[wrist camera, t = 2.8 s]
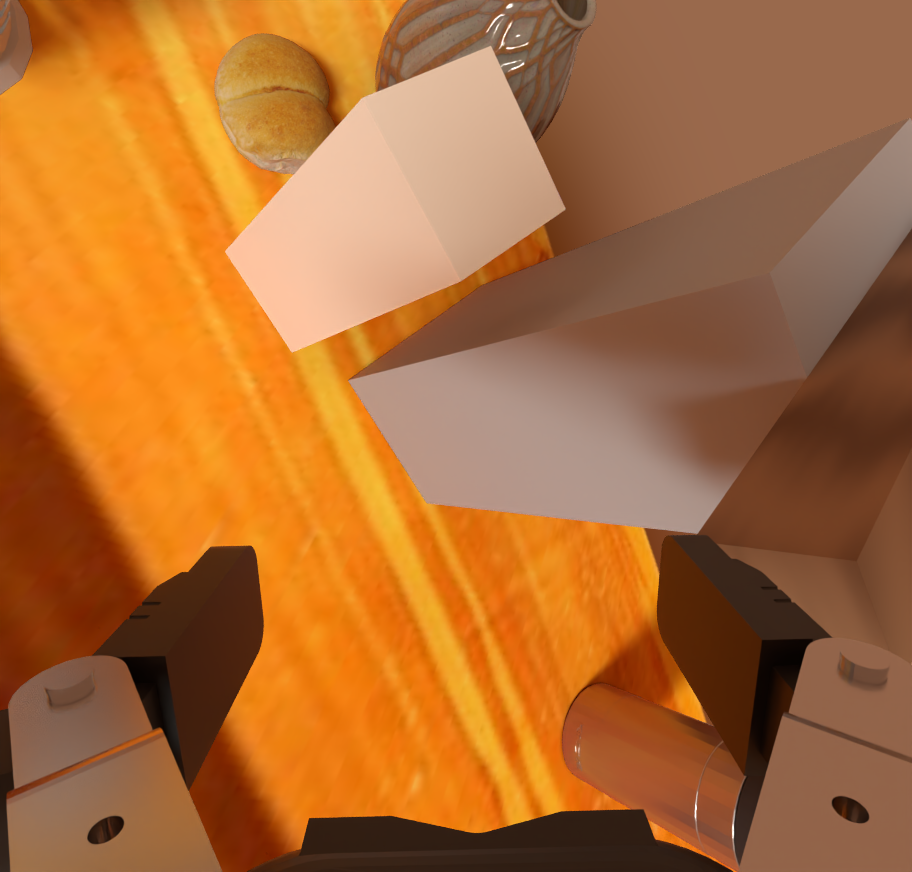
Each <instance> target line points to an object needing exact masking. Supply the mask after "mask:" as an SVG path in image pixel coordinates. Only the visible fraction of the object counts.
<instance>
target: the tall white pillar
mask: <svg viewBox="0 0 912 872" xmlns="http://www.w3.org/2000/svg"><path fill="white" fill-rule="evenodd" d="M911 229H912V121H911V118H908V119H906V120H903V121H901V122H898V123H895V124H893V125H890V126H888V127H885V128H883V129H880V130H878V131H875V132H872V133H870V134H867V135H865V136H863V137H860V138H857V139H855V140H852V141H850V142H847V143H844V144H842V145H839V146H837V147H834V148H832V149H829V150H827V151H824V152H822V153H819V154H816V155H814V156H811V157H809V158H806V159H804V160H801V161H799V162H796V163H794V164H791V165H788V166H786V167H783V168H781V169H778V170H776V171H773V172H770V173H768V174H765V175H763V176H760V177H758V178H755V179H753V180H750V181H747V182H745V183H742V184H740V185H737V186H735V187H732V188H730V189H727V190H725V191H722V192H719V193H717V194H715V195H712V196H709V197H707V198H704V199H702V200H699V201H696V202H694V203H691V204H689V205H686V206H684V207H681V208H679V209H676V210H674V211H671V212H669V213H666V214H663V215H661V216H659V217H656V218H653V219H651V220H648V221H645V222H643V223H641V224H638V225H635V226H633V227H630V228H628V229H625V230H623V231H620V232H618V233H615V234H613V235H610V236H607V237H605V238H602V239H600V240H597V241H594V242H592V243H589V244H587V245H584V246H582V247H579V248H577V249H574V250H571V251H569V252H566V253H564V254H562V255H559V256H556V257H554V258H551V259H549V260H546V261H543V262H541V263H538V264H536V265H533V266H531V267H528V268H526V269H523V270H520V271H518V272H515V273H513V274H510V275H508V276H505V277H503V278H500V279H497V280H495V281H492V282H490V283H487V284H485V285H482V286H480V287H479V288H478V289H476V290H475V291H473V292H472V293H471V294H469V295H468V296H466V297H465V298H464V299H462V300H461V301H459V302H458V303H456V304H455V305H454V306H452V307H451V308H449V309H448V310H447V311H445V312H444V313H442V314H441V315H440V316H438V317H437V318H435V319H434V320H433V321H431V322H430V323H428V324H427V325H425V326H424V327H423V328H421V329H420V330H418V331H417V332H416V333H414V334H413V335H411V336H410V337H409V338H407V339H406V340H404V341H403V342H402V343H400V344H399V345H397V346H396V347H394V348H393V349H392V350H390V351H389V352H387V353H386V354H385V355H383V356H382V357H380V358H379V359H378V360H376V361H375V362H373V363H372V364H371V365H369V366H368V367H366V368H365V369H363V370H362V371H361V372H359V373H358V374H356V375H355V376H354V377H352V378H351V379H349V380H348V381H349V383H350V384H351V386H352V387H353V389H354V390H355V392H356V393H357V395H358V397H359V398H360V400H361V401H362V403H363V404H364V406H365V408H366V409H367V411H368V412H369V414H370V415H371V417H372V418H373V420H374V422H375V423H376V425H377V426H378V428H379V429H380V431H381V432H382V434H383V436H384V437H385V439H386V440H387V442H388V443H389V445H390V447H391V448H392V450H393V451H394V453H395V454H396V456H397V457H398V459H399V461H400V462H401V464H402V465H403V467H404V468H405V470H406V472H407V473H408V475H409V476H410V478H411V479H412V481H413V482H414V484H415V486H416V487H417V489H418V490H419V492H420V493H421V495H422V496H423V498H424V500H425V501H426V503H430V504H439V505H448V506H457V507H466V508H475V509H484V510H492V511H501V512H510V513H519V514H528V515H537V516H546V517H555V518H563V519H572V520H581V521H590V522H599V523H608V524H617V525H626V526H635V527H643V528H652V529H661V530H670V531H679V532H688V533H697V534H698V532H699V531H700V530H701V528H702V527H703V525H704V524H705V522H706V521H707V520H708V518H709V517H710V515H711V514H712V512H713V511H714V510H715V508H716V507H717V505H718V504H719V502H720V501H721V500H722V498H723V497H724V495H725V494H726V492H727V491H728V490H729V488H730V487H731V485H732V484H733V483H734V481H735V480H736V478H737V477H738V475H739V474H740V473H741V471H742V470H743V468H744V467H745V465H746V464H747V463H748V461H749V460H750V458H751V457H752V455H753V454H754V453H755V451H756V450H757V448H758V447H759V445H760V444H761V443H762V441H763V440H764V438H765V437H766V435H767V434H768V433H769V431H770V430H771V428H772V427H773V426H774V424H775V423H776V421H777V420H778V418H779V417H780V416H781V414H782V413H783V411H784V410H785V408H786V407H787V406H788V404H789V403H790V401H791V400H792V398H793V397H794V396H795V394H796V393H797V391H798V390H799V388H800V387H801V386H802V384H803V383H804V381H805V380H806V378H807V377H808V376H809V374H810V373H811V371H812V370H813V369H814V367H815V366H816V364H817V363H818V361H819V360H820V359H821V357H822V356H823V354H824V353H825V351H826V350H827V349H828V347H829V346H830V344H831V343H832V341H833V340H834V339H835V337H836V336H837V334H838V333H839V331H840V330H841V329H842V327H843V326H844V324H845V323H846V321H847V320H848V319H849V317H850V316H851V314H852V313H853V312H854V310H855V309H856V307H857V306H858V304H859V303H860V302H861V300H862V299H863V297H864V296H865V294H866V293H867V292H868V290H869V289H870V287H871V286H872V284H873V283H874V282H875V280H876V279H877V277H878V276H879V274H880V273H881V272H882V270H883V269H884V267H885V266H886V264H887V263H888V262H889V260H890V259H891V257H892V256H893V255H894V253H895V252H896V250H897V249H898V247H899V246H900V245H901V243H902V242H903V240H904V239H905V237H906V236H907V235H908V233H909V232H910V230H911Z"/></svg>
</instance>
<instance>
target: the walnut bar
mask: <svg viewBox="0 0 912 872" xmlns="http://www.w3.org/2000/svg"><path fill="white" fill-rule="evenodd" d="M697 535H707V536H709V537H710V538H711V539H712V540H713V541H714V542H715V543H716V544H717V545H718V546H719V547H720V548H721V549H722V550H723V551H724V552H725V553H726V554H727V555H728V556H729V557H730V558H731V559H738V560H740V561H742V562H744V563H746V564H748V565H750V566H752V567H754V568H756V569H758V570H760V571H761V572H763V573H764V574H765V575H766V576H767V577H768V578H769V579H770V580H771V581H772V582H773V583H774V584H775V585H777V586H778V590H780V589H781V590H782V591H783V592H784V593H785V594H786V595H787V596H788V597H789V598H791V602H795V603H796V604H797V605H798V606H799V607H800V608H801V609H802V610H803V611H805V612H806V613H807V614H808V615H809V616H810V617H811V618H812V619H813V620H814V621H815V622H816V623H817V624H819V625H820V626H821V627H822V628H823V629H824V630H825V631H826V632H827V633H828V634H829V635H830V636H831V637H833V638H845V639H852V640H857V641H861V642H865V643H868V644H872V645H875V646H877V647H880V648H882V649H885V650H887V651H889V652H891V653H893V654H895V655H897V656H899V657H901V658H902V659H904V660H905V661H907V662H908V663H910V664H911V662H912V229H911V230H910V232H909V233H908V235H907V236H906V237H905V239H904V240H903V242H902V243H901V245H900V246H899V247H898V249H897V250H896V252H895V253H894V255H893V256H892V257H891V259H890V260H889V262H888V263H887V264H886V266H885V267H884V269H883V270H882V272H881V273H880V274H879V276H878V277H877V279H876V280H875V282H874V283H873V284H872V286H871V287H870V289H869V290H868V292H867V293H866V294H865V296H864V297H863V299H862V300H861V302H860V303H859V304H858V306H857V307H856V309H855V310H854V312H853V313H852V314H851V316H850V317H849V319H848V320H847V321H846V323H845V324H844V326H843V327H842V329H841V330H840V331H839V333H838V334H837V336H836V337H835V339H834V340H833V341H832V343H831V344H830V346H829V347H828V349H827V350H826V351H825V353H824V354H823V356H822V357H821V359H820V360H819V361H818V363H817V364H816V366H815V367H814V369H813V370H812V371H811V373H810V374H809V376H808V377H807V378H806V380H805V381H804V383H803V384H802V386H801V387H800V388H799V390H798V391H797V393H796V394H795V396H794V397H793V398H792V400H791V401H790V403H789V404H788V406H787V407H786V408H785V410H784V411H783V413H782V414H781V416H780V417H779V418H778V420H777V421H776V423H775V424H774V426H773V427H772V428H771V430H770V431H769V433H768V434H767V435H766V437H765V438H764V440H763V441H762V443H761V444H760V445H759V447H758V448H757V450H756V451H755V453H754V454H753V455H752V457H751V458H750V460H749V461H748V463H747V464H746V465H745V467H744V468H743V470H742V471H741V473H740V474H739V475H738V477H737V478H736V480H735V481H734V483H733V484H732V485H731V487H730V488H729V490H728V491H727V492H726V494H725V495H724V497H723V498H722V500H721V501H720V502H719V504H718V505H717V507H716V508H715V510H714V511H713V512H712V514H711V515H710V517H709V518H708V520H707V521H706V522H705V524H704V525H703V527H702V528H701V530H700V531H699V532H698V534H697Z"/></svg>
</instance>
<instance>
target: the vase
mask: <svg viewBox="0 0 912 872" xmlns="http://www.w3.org/2000/svg"><path fill="white" fill-rule="evenodd" d="M595 14H596V0H406V1H405V2H404V3H403V5H402V6H401V7H400V9H399V10H398V12H397V13H396V15H395V16H394V18H393V19H392V21H391V23H390V25H389V27H388V29H387V31H386V33H385V35H384V38H383V41H382V44H381V48H380V51H379V55H378V60H377V67H376V76H375V85H376V92H378V91H381V90H383V89H386V88H388V87H390V86H393V85H395V84H398V83H400V82H403V81H405V80H408V79H410V78H413V77H415V76H418V75H420V74H423V73H425V72H427V71H430V70H432V69H435V68H437V67H440V66H442V65H445V64H447V63H450V62H452V61H455V60H457V59H459V58H462V57H464V56H467V55H469V54H472V53H474V52H477V51H479V50H482V49H484V48H487V47H489V46H491V47H492V49H493V51H494V53H495V56H496V58H497V60H498V62H499V64H500V67H501V69H502V71H503V73H504V75H505V77H506V80H507V82H508V84H509V86H510V88H511V91H512V93H513V95H514V97H515V99H516V102H517V104H518V106H519V108H520V110H521V112H522V115H523V117H524V119H525V121H526V123H527V126H528V128H529V130H530V132H531V134H532V136H533V139H534V141H535V143H536V142H537V141H538V140H539V139H540V138H541V136H542V135H543V134H544V132H545V131H546V129H547V128H548V126H549V125H550V123H551V122H552V120H553V118H554V116H555V115H556V113H557V111H558V109H559V107H560V105H561V103H562V100H563V98H564V95H565V92H566V90H567V87H568V84H569V80H570V76H571V72H572V68H573V65H574V60H575V55H576V51H577V46H578V43H579V41H580V38H581V36H582V34H583V32H584V31H585V30H586V29H587V28H588V27H589V26H590V25H591V24H592V23H593V21H594V18H595Z"/></svg>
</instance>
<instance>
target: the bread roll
mask: <svg viewBox="0 0 912 872" xmlns="http://www.w3.org/2000/svg"><path fill="white" fill-rule="evenodd" d="M215 96H216V100H217V103H218V106H219V111H220V117H221V121H222V124H223V126H224V129H225V131H226V133H227V135H228V137H229V138H230V140H231V142H232V143H233V144H234V146H235V147H236V148H237V150H238V151H239V152H240V153H241V154H242V155H243V156H244V157H245V158H246V159H247V160H249V161H250V162H252V163H253V164H255V165H256V166H258V167H259V168H261V169H264V170H269V171H275V172H279V173H284V174H295V173H296V172H297V170H298V169H299V168H300V167H301V166H302V165H303V164H304V163H305V162H306V160H307V159H308V158H309V157H310V156H311V155H312V154H313V153H314V151H315V150H316V149H317V148H318V147H319V146H320V145H321V144H322V143H323V141H324V140H325V139H326V138H327V137H328V136H329V135H330V134H331V132H332V131H333V130H334V129H335V128H336V127H335V124H334V122H333V120H332V118H331V117H330V114H329V113H328V111H327V110H326V108H327V105H328V102H329V86H328V83H327V80H326V77H325V75H324V73H323V71H322V69H321V68H320V66H319V65H318V63H317V62H316V61H315V59H314V58H313V57H312V56H311V55H310V54H309V53H308V52H306V51H305V50H304V49H302V48H301V47H299V46H298V45H297V44H295V43H293V42H292V41H290V40H288V39H285V38H283V37H280V36H277V35H273V34H255V35H251V36H249V37H246V38H244V39H242V40H241V41H239V42H238V43H236V44H235V45H234V46H233V47H232V48H231V49H230V50H229V51H228V52H227V53H226V55H225V56H224V58H223V59H222V61H221V63H220V65H219V69H218V71H217V76H216V80H215Z"/></svg>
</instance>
